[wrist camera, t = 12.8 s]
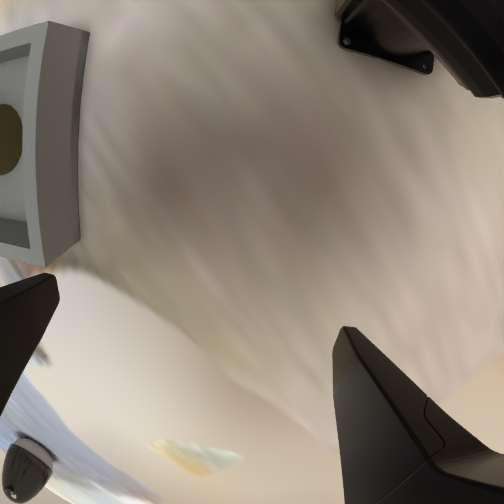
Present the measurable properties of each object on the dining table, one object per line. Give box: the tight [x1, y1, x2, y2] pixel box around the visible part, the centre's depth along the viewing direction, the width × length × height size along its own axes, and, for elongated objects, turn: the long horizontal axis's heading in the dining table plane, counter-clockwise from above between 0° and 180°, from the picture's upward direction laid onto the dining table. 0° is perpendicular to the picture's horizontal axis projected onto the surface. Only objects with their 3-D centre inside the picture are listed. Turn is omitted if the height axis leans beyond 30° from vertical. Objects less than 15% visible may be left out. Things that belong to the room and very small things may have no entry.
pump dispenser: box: [2, 438, 53, 504], centre depth 36 cm, size 10×10×15 cm
